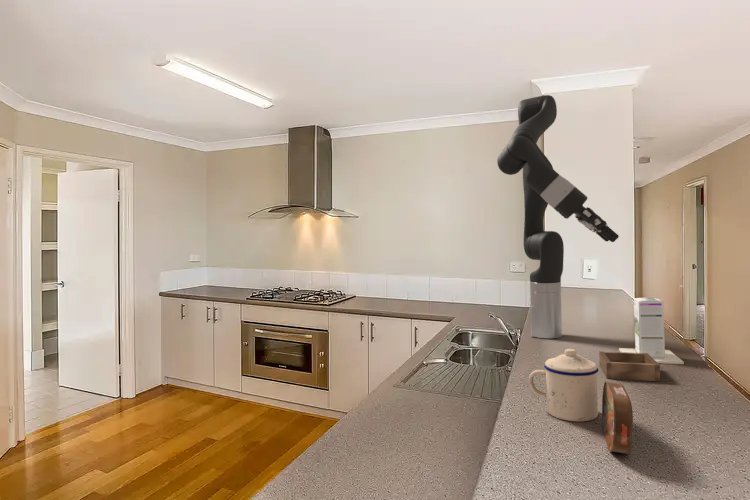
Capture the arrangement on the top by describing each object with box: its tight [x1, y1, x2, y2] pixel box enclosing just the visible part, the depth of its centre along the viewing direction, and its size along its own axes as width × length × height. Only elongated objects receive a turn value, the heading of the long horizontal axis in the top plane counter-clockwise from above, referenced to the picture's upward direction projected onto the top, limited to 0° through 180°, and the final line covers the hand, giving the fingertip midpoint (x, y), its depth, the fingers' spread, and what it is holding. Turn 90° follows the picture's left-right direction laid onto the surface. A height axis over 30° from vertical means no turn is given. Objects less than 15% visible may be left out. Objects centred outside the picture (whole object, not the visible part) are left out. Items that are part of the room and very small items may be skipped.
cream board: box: [618, 347, 685, 365], centre depth 121 cm, size 12×12×1 cm
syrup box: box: [633, 297, 666, 358], centre depth 120 cm, size 6×6×14 cm
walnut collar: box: [598, 350, 661, 382], centre depth 108 cm, size 10×10×4 cm
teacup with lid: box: [528, 348, 599, 423], centre depth 86 cm, size 12×9×12 cm
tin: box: [601, 380, 634, 455], centre depth 74 cm, size 15×3×8 cm, turn 159°
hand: (612, 239), depth 119 cm, fingers open, 8 cm apart
